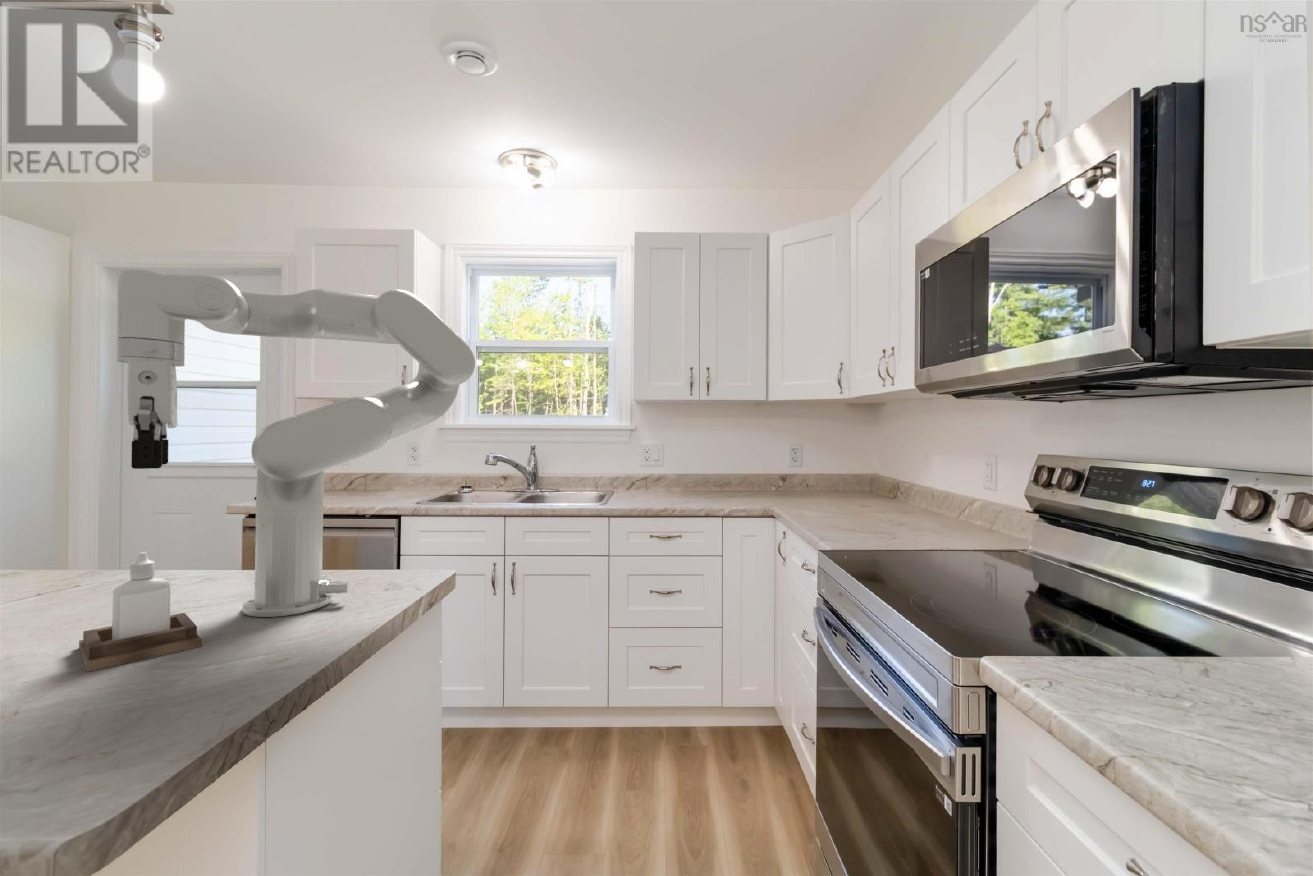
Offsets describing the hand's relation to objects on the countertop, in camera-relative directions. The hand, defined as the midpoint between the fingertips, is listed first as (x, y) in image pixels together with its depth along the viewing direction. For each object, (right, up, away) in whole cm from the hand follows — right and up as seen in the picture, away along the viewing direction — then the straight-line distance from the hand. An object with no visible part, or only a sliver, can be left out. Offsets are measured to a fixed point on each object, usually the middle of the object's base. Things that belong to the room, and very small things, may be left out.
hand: (150, 466), depth 83 cm
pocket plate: (+7, -24, -9) cm, 27 cm away
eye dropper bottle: (+7, -24, -9) cm, 26 cm away
